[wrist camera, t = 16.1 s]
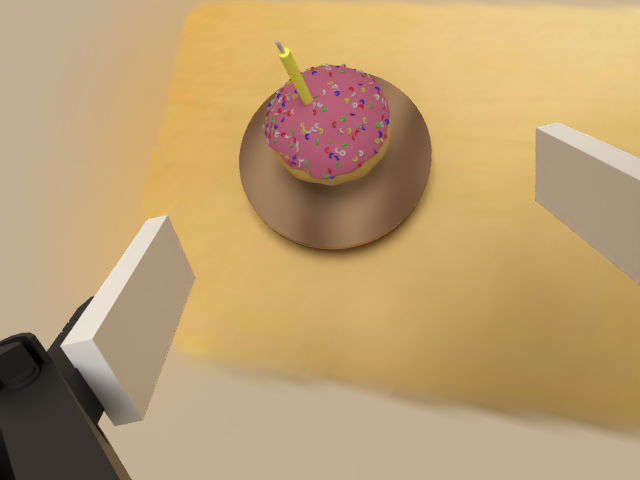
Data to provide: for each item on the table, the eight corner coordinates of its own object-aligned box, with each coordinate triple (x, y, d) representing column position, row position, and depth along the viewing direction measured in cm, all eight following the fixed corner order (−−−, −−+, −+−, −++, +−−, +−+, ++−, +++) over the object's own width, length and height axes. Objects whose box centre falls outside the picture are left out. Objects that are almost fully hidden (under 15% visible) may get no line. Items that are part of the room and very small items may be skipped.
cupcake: (267, 192, 34) (212, 105, 22) (296, 97, 36) (259, -28, 24) (376, 215, 32) (378, 133, 21) (400, 114, 34) (413, -11, 23)
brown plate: (434, 96, 38) (439, 74, 35) (418, 266, 34) (422, 257, 31) (266, 86, 40) (257, 65, 37) (234, 244, 36) (222, 234, 33)
